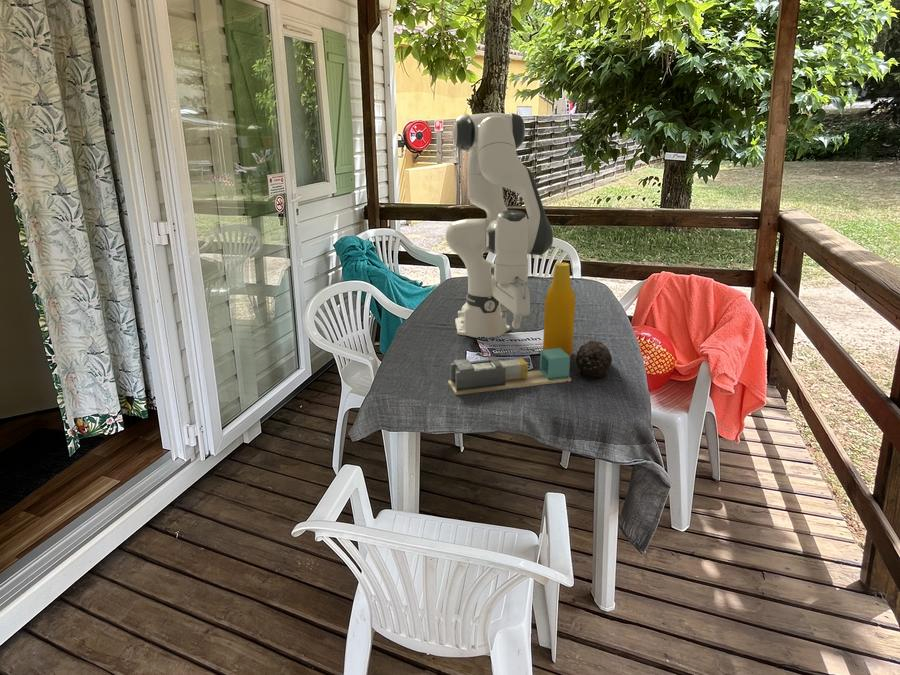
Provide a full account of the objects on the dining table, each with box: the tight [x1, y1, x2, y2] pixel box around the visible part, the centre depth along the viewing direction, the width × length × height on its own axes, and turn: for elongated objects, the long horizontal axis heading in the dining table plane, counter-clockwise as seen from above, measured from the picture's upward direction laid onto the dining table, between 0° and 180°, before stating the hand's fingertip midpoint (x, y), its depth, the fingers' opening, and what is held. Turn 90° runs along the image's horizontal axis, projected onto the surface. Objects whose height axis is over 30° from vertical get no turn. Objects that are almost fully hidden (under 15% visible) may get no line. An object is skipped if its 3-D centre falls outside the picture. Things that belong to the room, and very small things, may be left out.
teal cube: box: [539, 348, 571, 380], centre depth 181 cm, size 7×6×7 cm
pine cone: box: [575, 340, 613, 382], centre depth 184 cm, size 10×18×10 cm, turn 171°
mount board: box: [447, 369, 572, 396], centre depth 179 cm, size 8×34×1 cm, turn 104°
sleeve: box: [449, 355, 506, 391], centre depth 176 cm, size 7×14×6 cm, turn 104°
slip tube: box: [455, 358, 529, 380], centre depth 176 cm, size 4×20×4 cm, turn 104°
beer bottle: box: [542, 262, 576, 357], centre depth 193 cm, size 9×9×29 cm
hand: (510, 322), depth 173 cm, fingers open, 8 cm apart
